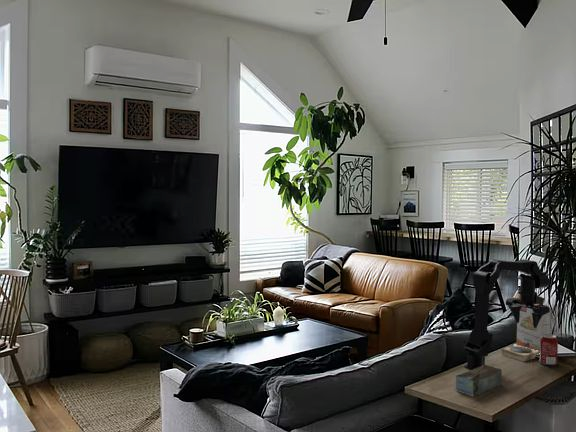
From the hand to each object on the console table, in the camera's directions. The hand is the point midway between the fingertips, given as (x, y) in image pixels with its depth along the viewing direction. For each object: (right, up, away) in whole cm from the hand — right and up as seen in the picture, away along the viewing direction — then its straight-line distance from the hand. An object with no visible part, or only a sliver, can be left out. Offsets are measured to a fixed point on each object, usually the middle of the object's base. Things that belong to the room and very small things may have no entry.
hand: (526, 325), depth 241 cm
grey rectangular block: (-31, -17, -32) cm, 48 cm away
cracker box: (+9, -14, +14) cm, 22 cm away
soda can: (+7, -15, -5) cm, 18 cm away
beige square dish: (0, -14, +5) cm, 15 cm away
